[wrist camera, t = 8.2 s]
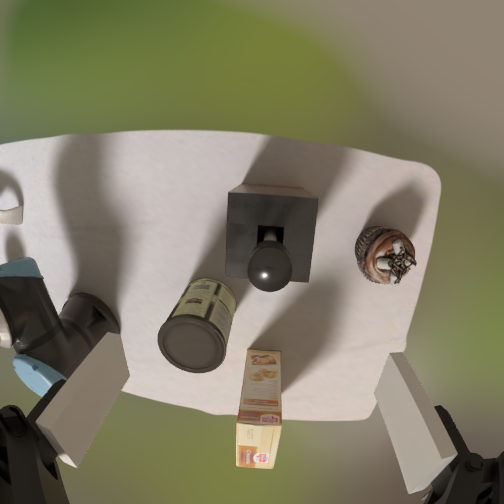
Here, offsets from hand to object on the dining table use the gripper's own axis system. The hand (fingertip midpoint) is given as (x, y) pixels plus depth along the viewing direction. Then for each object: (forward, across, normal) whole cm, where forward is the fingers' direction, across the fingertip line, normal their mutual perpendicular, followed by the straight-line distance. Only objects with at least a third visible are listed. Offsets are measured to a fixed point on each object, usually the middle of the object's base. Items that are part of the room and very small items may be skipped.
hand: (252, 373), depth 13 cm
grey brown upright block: (+36, +1, +1) cm, 36 cm away
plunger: (+32, +1, +1) cm, 32 cm away
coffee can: (+37, -9, -16) cm, 41 cm away
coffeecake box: (+37, +2, -33) cm, 49 cm away
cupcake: (+37, +20, -3) cm, 42 cm away
